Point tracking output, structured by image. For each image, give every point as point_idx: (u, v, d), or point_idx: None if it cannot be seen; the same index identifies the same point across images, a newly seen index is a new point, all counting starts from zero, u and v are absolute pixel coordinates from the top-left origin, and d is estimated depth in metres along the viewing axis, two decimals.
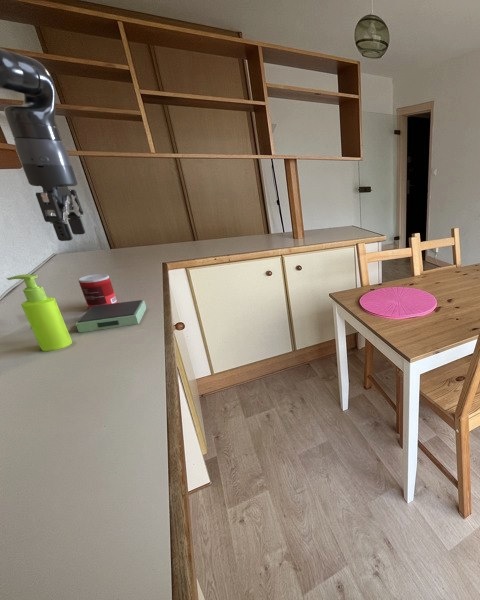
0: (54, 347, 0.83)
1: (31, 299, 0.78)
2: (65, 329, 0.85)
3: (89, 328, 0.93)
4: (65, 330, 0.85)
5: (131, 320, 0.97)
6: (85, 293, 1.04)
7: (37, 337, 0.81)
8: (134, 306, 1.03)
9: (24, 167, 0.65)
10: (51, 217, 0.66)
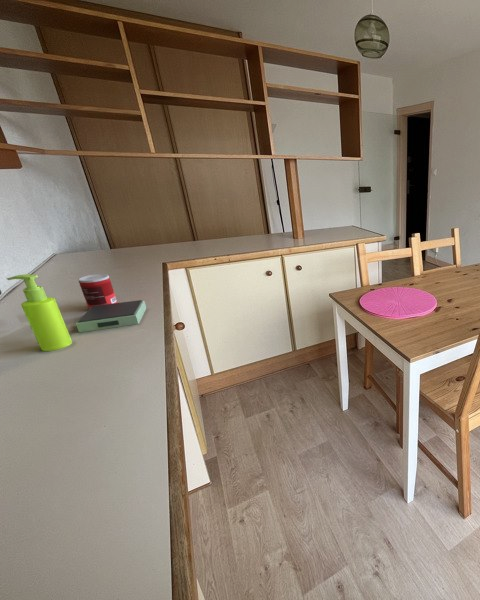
0: (54, 347, 0.83)
1: (31, 299, 0.78)
2: (65, 329, 0.85)
3: (89, 328, 0.93)
4: (65, 330, 0.85)
5: (131, 320, 0.97)
6: (85, 293, 1.04)
7: (37, 337, 0.81)
8: (134, 306, 1.03)
9: None
10: None
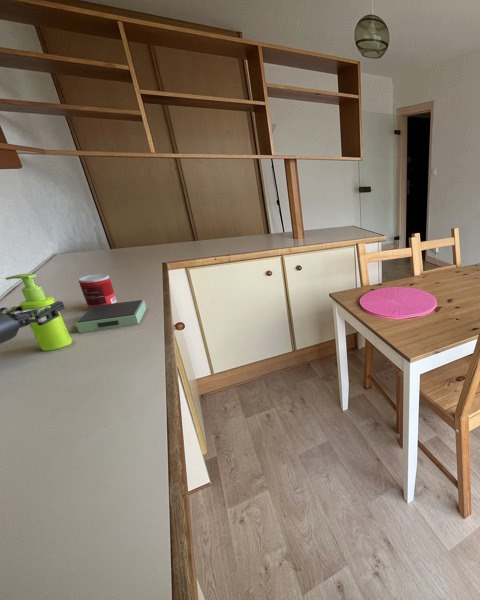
0: (54, 346, 0.83)
1: (30, 298, 0.79)
2: (64, 328, 0.85)
3: (89, 328, 0.93)
4: (64, 329, 0.84)
5: (131, 320, 0.97)
6: (85, 293, 1.04)
7: (37, 337, 0.81)
8: (134, 306, 1.03)
9: None
10: None
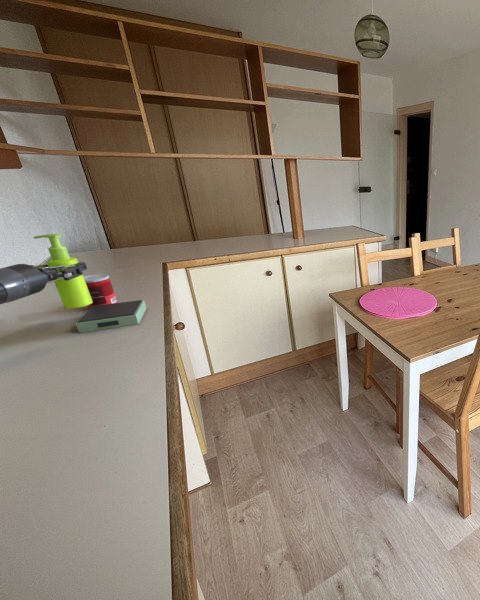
0: (76, 305, 0.87)
1: (56, 257, 0.83)
2: (86, 288, 0.89)
3: (89, 328, 0.93)
4: (86, 289, 0.89)
5: (131, 320, 0.97)
6: None
7: (61, 294, 0.86)
8: (134, 306, 1.03)
9: None
10: None
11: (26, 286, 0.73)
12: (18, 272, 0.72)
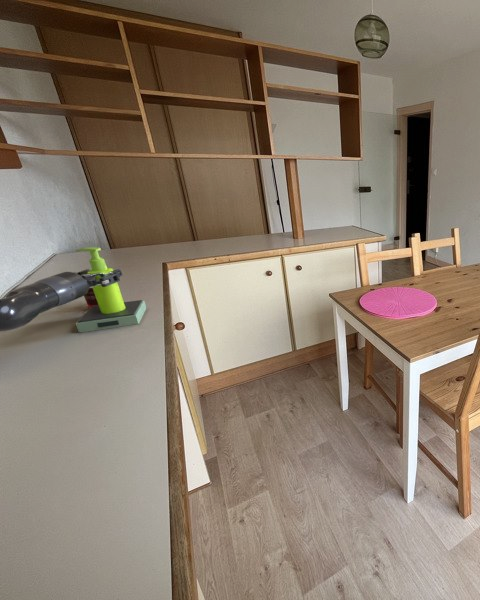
0: (112, 310, 0.97)
1: (96, 268, 0.93)
2: (120, 295, 0.99)
3: (89, 328, 0.93)
4: (120, 296, 0.99)
5: (131, 320, 0.97)
6: None
7: (99, 301, 0.95)
8: (134, 306, 1.03)
9: None
10: None
11: (73, 292, 0.82)
12: (66, 279, 0.82)
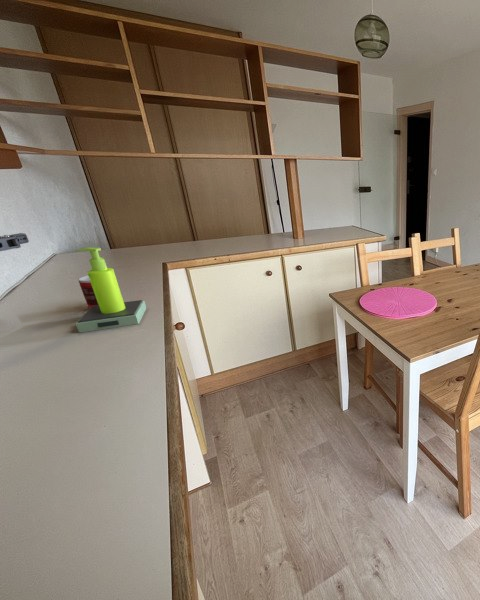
0: (112, 310, 0.97)
1: (96, 268, 0.93)
2: (120, 295, 0.99)
3: (89, 328, 0.93)
4: (120, 296, 0.99)
5: (131, 320, 0.97)
6: (85, 293, 1.04)
7: (99, 301, 0.95)
8: (134, 306, 1.03)
9: None
10: None
11: None
12: None
